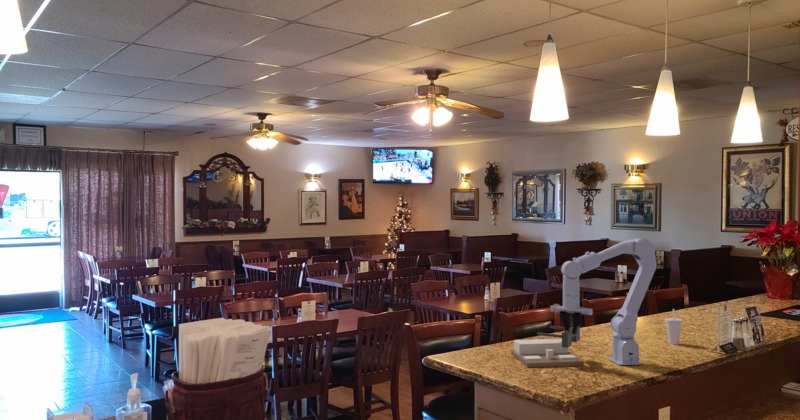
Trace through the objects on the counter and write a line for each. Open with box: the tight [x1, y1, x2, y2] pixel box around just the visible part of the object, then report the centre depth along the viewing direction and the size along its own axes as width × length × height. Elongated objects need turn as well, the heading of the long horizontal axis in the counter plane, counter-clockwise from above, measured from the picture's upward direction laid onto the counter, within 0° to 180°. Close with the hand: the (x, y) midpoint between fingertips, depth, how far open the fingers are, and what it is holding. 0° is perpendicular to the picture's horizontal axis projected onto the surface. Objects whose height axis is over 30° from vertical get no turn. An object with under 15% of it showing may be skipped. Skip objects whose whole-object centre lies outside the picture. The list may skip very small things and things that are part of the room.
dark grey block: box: [536, 325, 581, 349], centre depth 216 cm, size 11×14×5 cm
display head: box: [510, 338, 585, 368], centre depth 216 cm, size 20×20×5 cm
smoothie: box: [664, 308, 683, 346], centre depth 240 cm, size 6×6×14 cm
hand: (571, 333), depth 213 cm, fingers closed on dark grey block
